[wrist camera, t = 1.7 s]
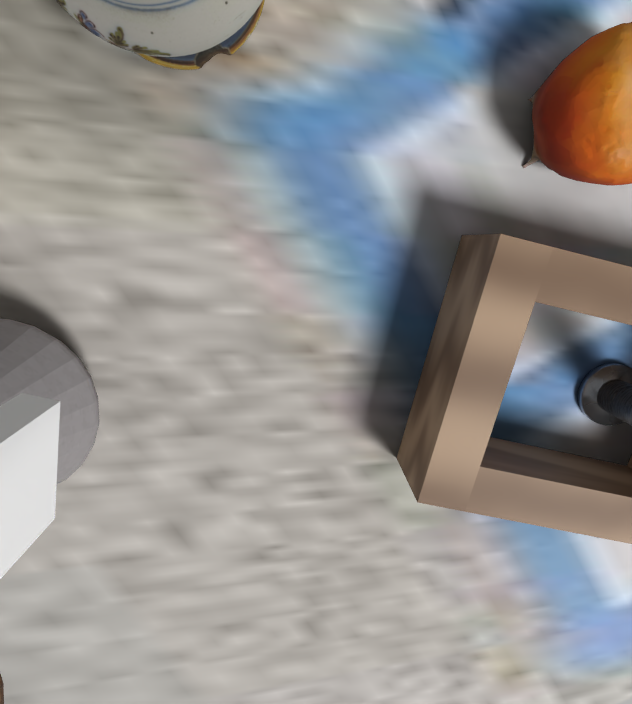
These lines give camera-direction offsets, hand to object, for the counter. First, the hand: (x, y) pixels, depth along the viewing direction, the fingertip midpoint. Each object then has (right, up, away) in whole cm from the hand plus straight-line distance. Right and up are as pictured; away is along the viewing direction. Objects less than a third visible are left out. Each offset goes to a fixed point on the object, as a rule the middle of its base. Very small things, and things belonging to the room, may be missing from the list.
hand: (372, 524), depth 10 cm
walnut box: (+16, +1, +24) cm, 29 cm away
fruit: (+15, +18, +20) cm, 31 cm away
